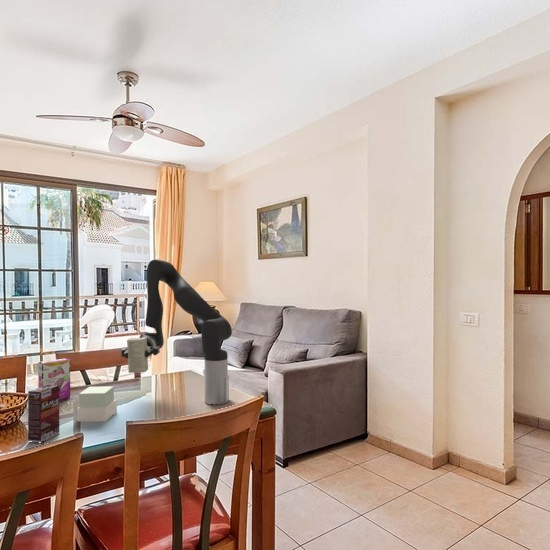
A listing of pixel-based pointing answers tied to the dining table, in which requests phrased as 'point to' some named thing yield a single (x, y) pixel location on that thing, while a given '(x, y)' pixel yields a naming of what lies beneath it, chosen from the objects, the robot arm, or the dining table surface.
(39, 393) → the supplement box
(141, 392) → the dining table surface
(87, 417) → the tower base block
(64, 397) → the candy bar box
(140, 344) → the skincare box
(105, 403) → the tower top block
